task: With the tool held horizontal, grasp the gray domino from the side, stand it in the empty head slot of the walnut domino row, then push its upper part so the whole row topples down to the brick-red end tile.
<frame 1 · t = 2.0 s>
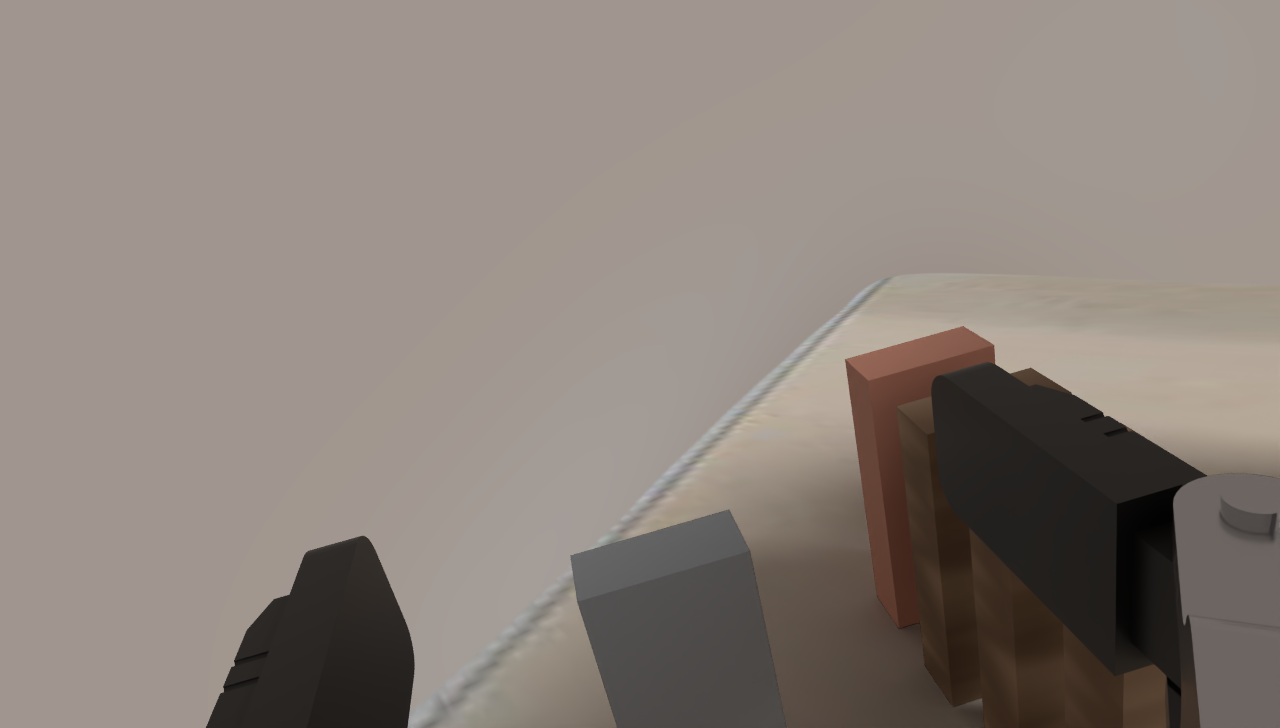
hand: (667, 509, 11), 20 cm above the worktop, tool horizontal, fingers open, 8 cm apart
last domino: (941, 595, 36), on the worktop
domino 4: (998, 667, 32), on the worktop
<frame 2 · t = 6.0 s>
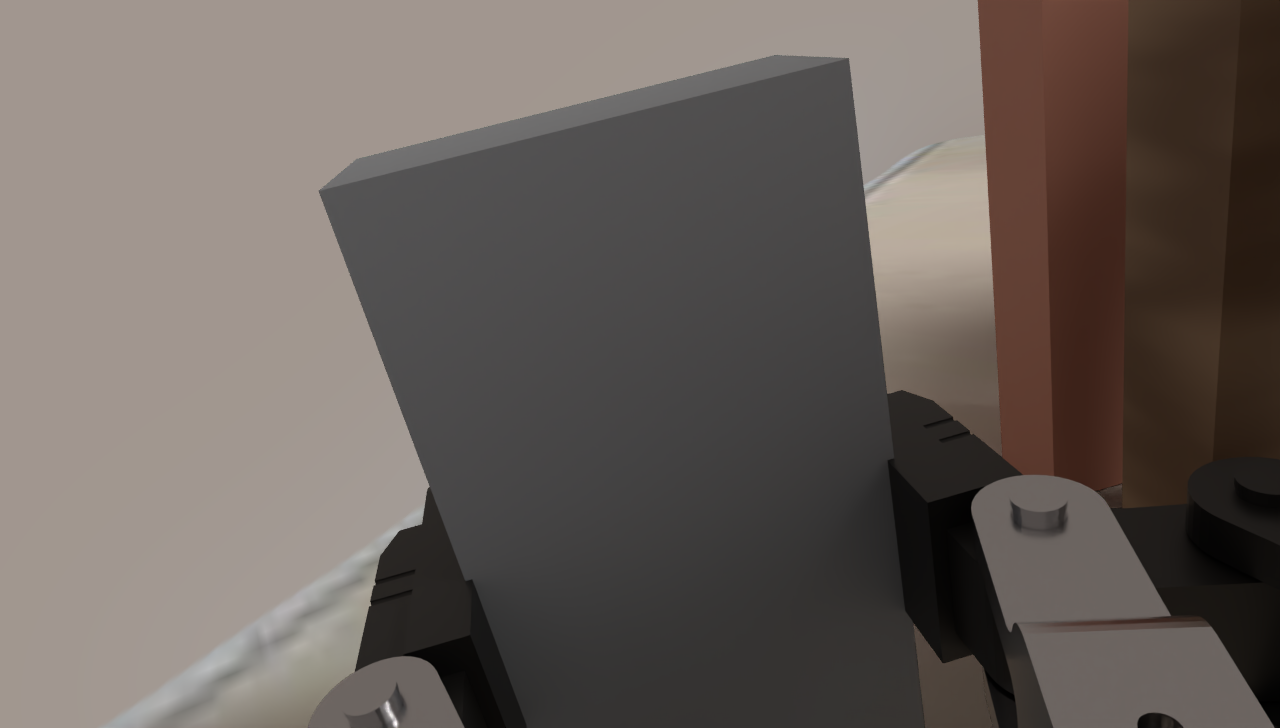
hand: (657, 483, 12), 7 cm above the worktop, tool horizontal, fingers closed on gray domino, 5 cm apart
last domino: (1118, 454, 21), on the worktop
domino 4: (1271, 555, 17), on the worktop
when the fingers open (7 cm above the worktop, at t = 12.8 s): gray domino stays where it is, on the worktop.
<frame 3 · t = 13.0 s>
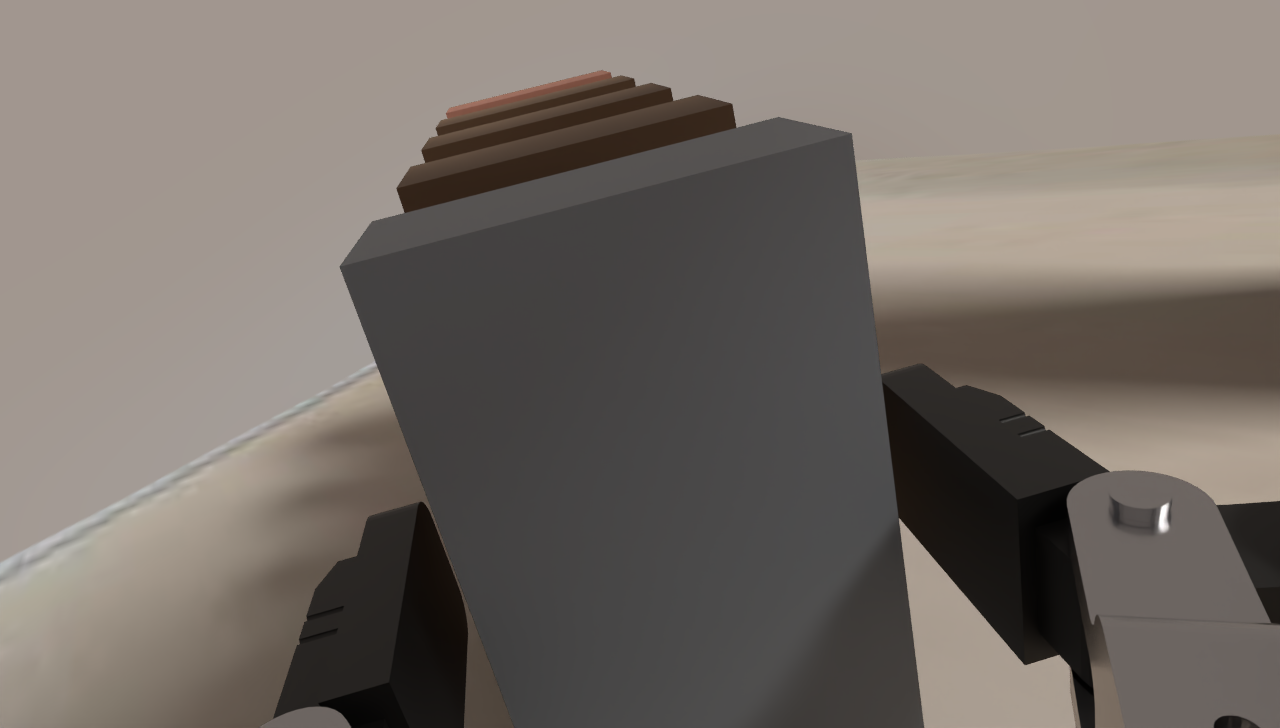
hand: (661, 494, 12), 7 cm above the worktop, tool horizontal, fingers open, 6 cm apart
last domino: (616, 428, 30), on the worktop
domino 2: (703, 701, 18), on the worktop
domino 4: (636, 490, 26), on the worktop
domino 3: (663, 576, 22), on the worktop
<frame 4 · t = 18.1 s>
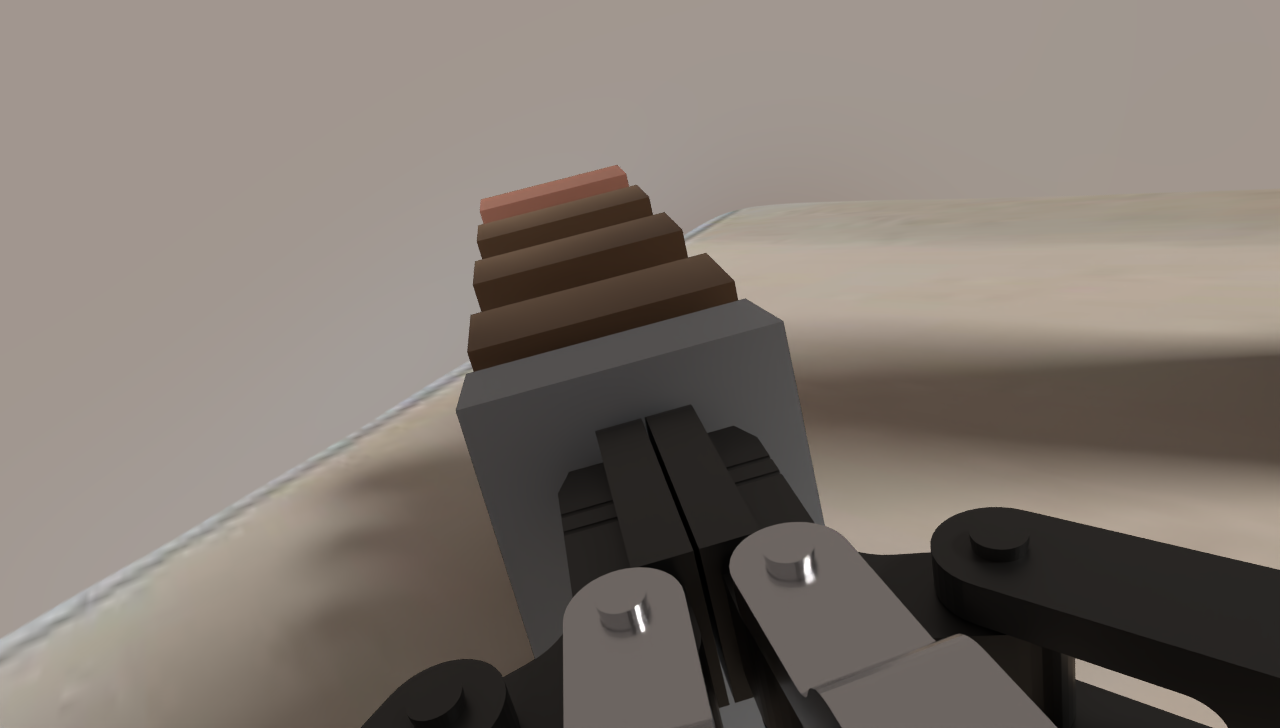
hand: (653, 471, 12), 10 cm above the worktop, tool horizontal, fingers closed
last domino: (628, 480, 33), on the worktop
domino 4: (647, 543, 29), on the worktop
domino 3: (673, 627, 25), on the worktop
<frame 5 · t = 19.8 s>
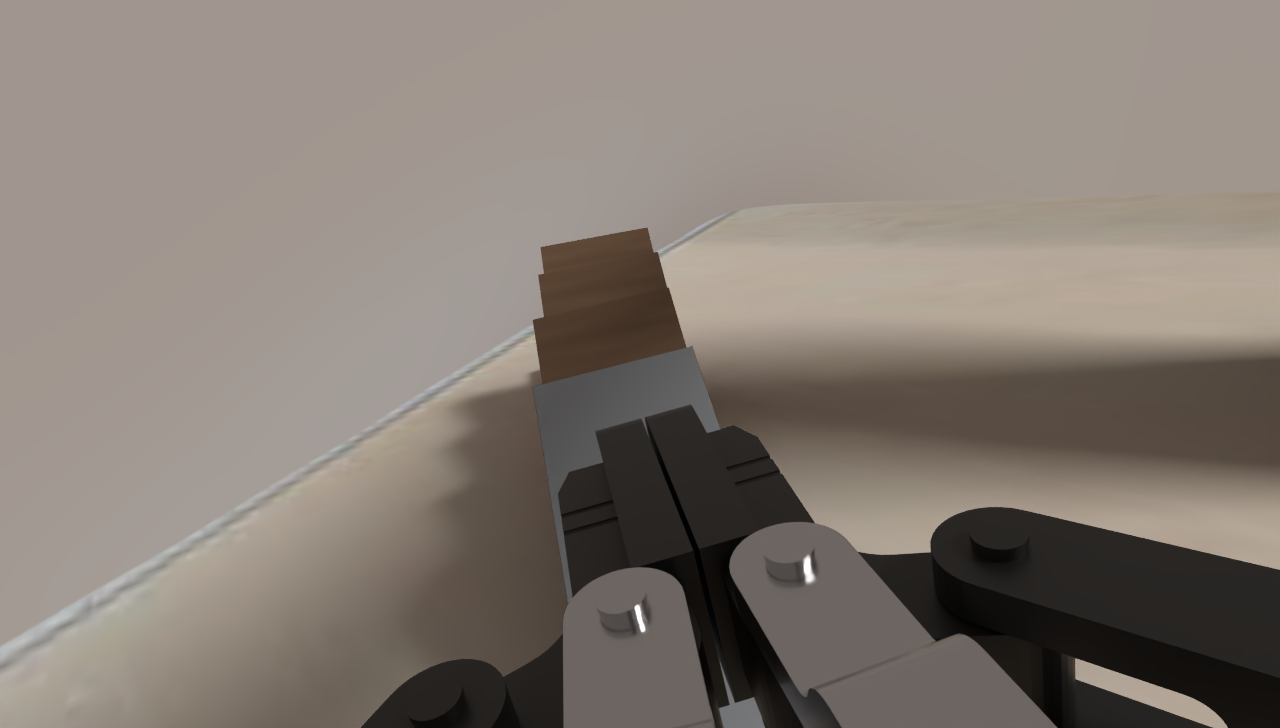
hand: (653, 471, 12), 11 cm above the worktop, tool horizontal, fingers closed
domino 2: (677, 640, 23), point 1 cm above the worktop, tilted 60°
domino 4: (638, 473, 32), point 1 cm above the worktop, tilted 60°, touching domino 3, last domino
domino 3: (653, 539, 28), point 1 cm above the worktop, tilted 60°, touching domino 4
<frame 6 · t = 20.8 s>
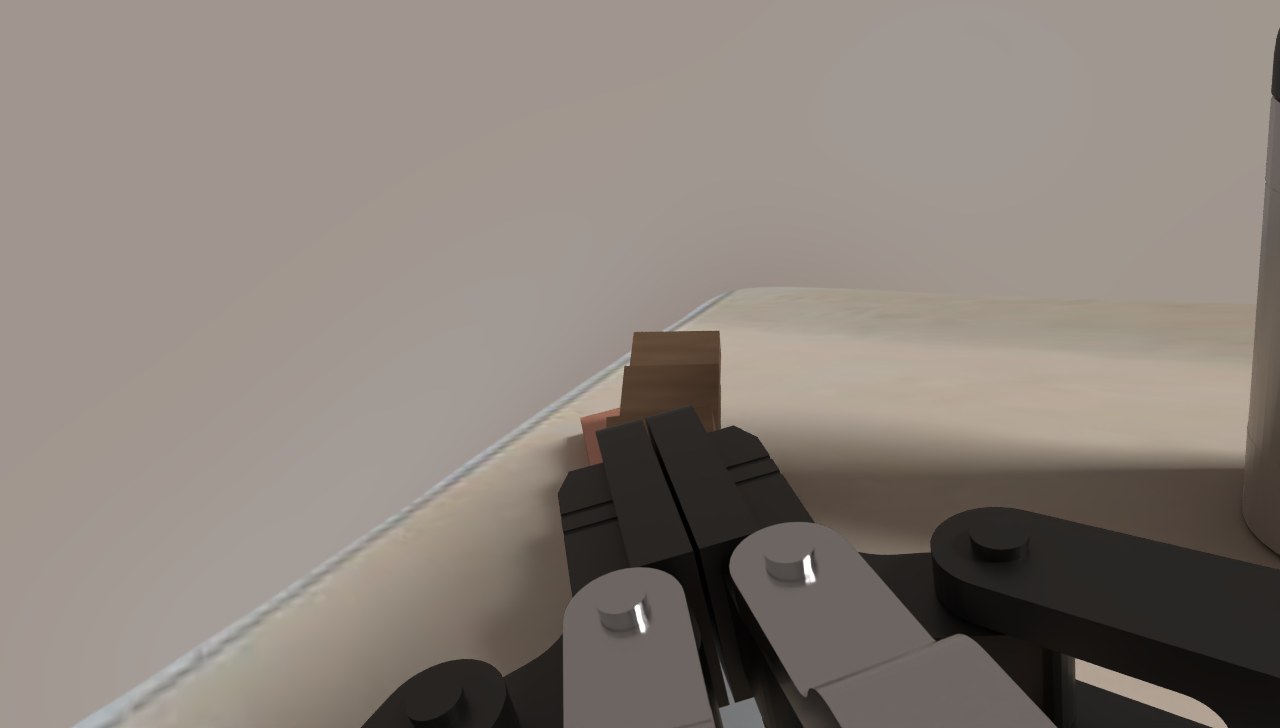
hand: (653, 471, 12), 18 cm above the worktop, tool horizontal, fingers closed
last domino: (648, 515, 44), on the worktop, tilted 90°, touching domino 4
domino 2: (670, 677, 32), point 1 cm above the worktop, tilted 63°, touching domino 3, gray domino
domino 4: (664, 524, 41), point 1 cm above the worktop, tilted 64°, touching domino 3, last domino
domino 3: (661, 587, 37), point 1 cm above the worktop, tilted 63°, touching domino 2, domino 4
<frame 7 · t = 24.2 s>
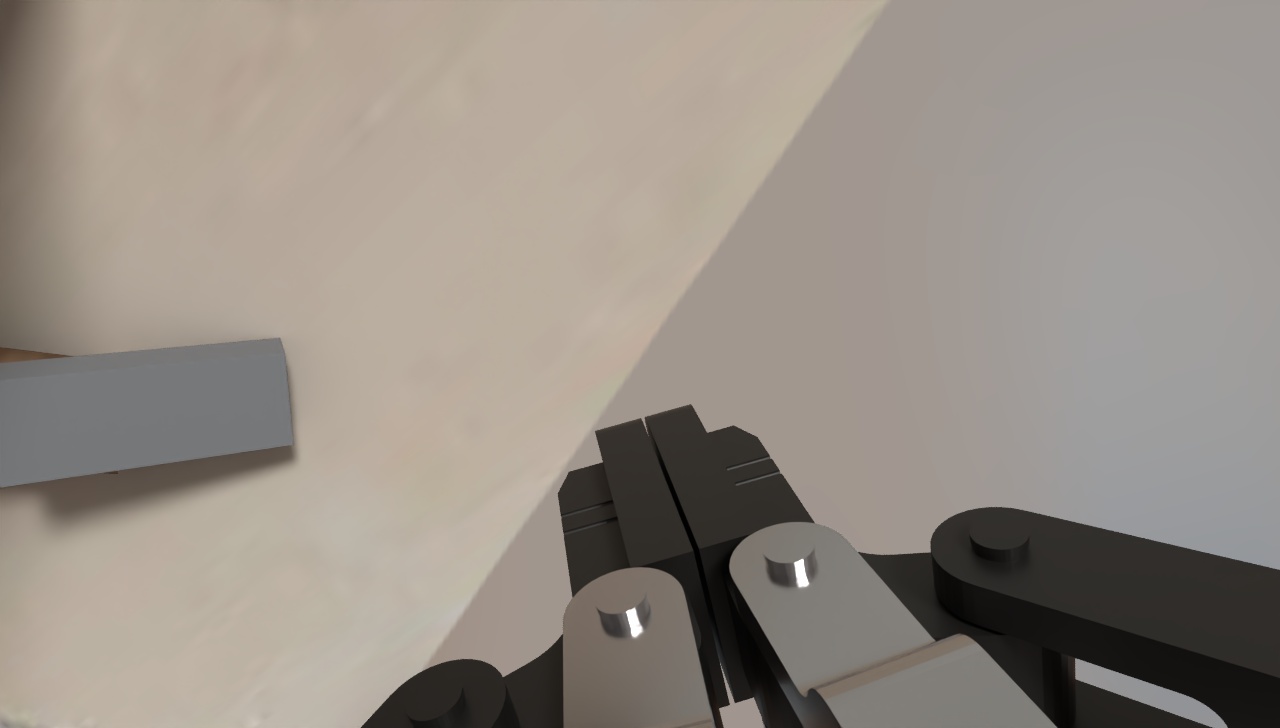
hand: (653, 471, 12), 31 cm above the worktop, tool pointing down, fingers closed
gray domino: (286, 391, 42), point 1 cm above the worktop, tilted 72°, touching domino 2
domino 2: (126, 418, 41), point 1 cm above the worktop, tilted 72°, touching gray domino
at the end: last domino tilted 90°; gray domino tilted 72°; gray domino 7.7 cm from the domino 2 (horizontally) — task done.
